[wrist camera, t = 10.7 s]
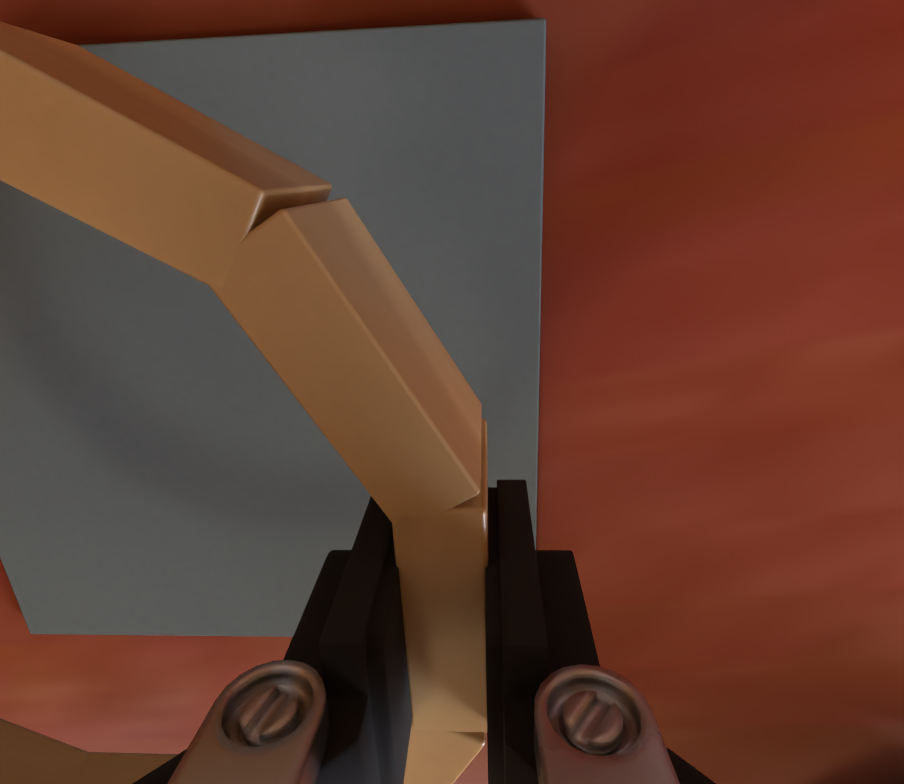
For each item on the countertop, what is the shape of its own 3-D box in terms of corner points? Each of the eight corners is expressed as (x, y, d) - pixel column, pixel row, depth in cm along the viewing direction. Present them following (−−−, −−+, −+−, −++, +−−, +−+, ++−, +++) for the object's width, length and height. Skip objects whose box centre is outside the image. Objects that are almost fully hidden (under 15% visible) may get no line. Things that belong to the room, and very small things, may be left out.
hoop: (-557, 77, 9) (-1026, 35, 6) (479, 14, 8) (476, -73, 5) (-125, 778, 15) (-264, 916, 12) (493, 797, 14) (495, 953, 11)
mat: (-176, 64, 16) (-200, 60, 15) (544, 23, 14) (546, 17, 14) (40, 623, 23) (29, 634, 22) (532, 628, 22) (534, 640, 21)
